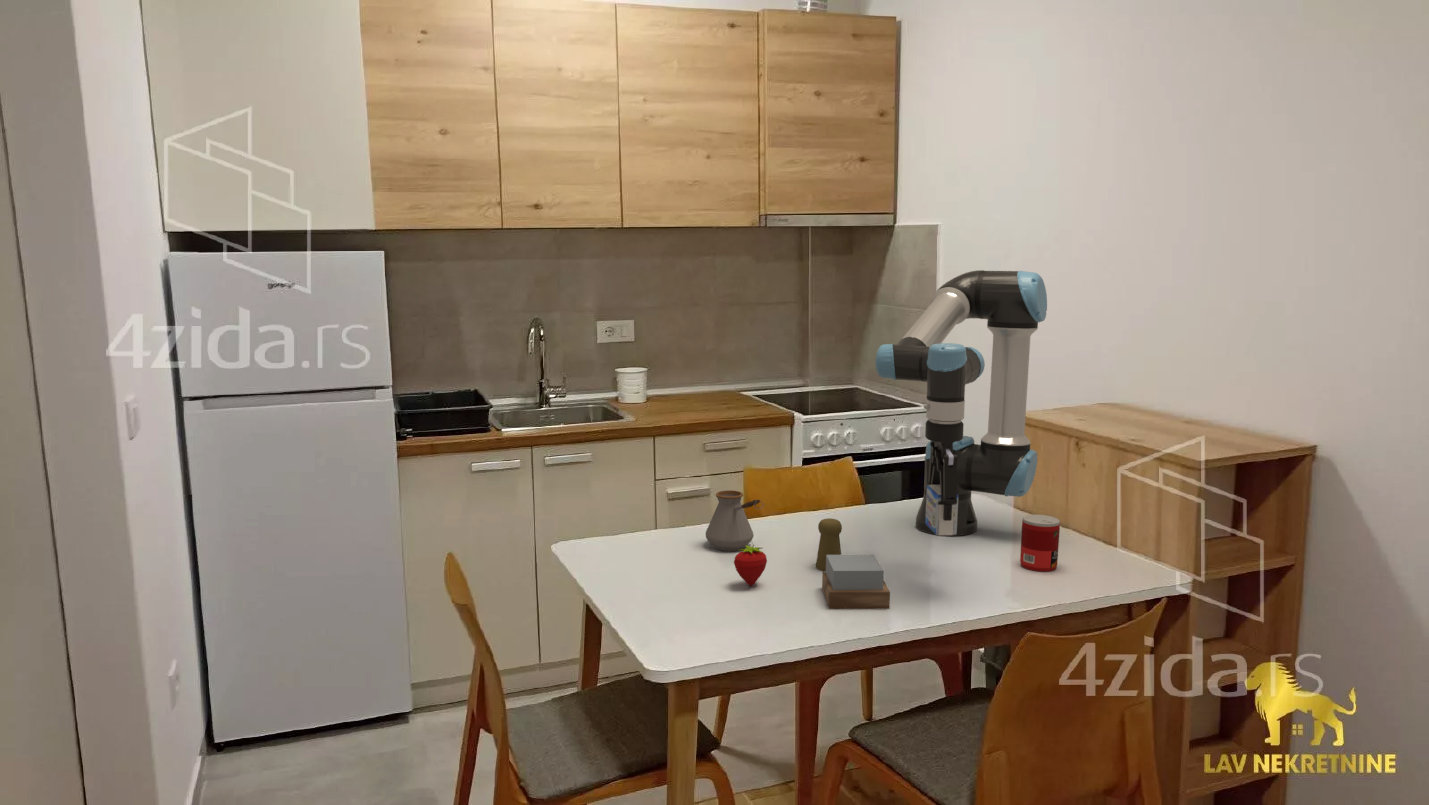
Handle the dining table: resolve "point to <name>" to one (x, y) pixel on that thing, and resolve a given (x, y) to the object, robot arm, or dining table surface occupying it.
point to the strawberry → (750, 564)
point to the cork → (828, 541)
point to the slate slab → (854, 572)
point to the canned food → (1039, 542)
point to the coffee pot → (730, 522)
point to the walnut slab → (855, 597)
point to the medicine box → (937, 509)
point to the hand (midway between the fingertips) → (940, 528)
